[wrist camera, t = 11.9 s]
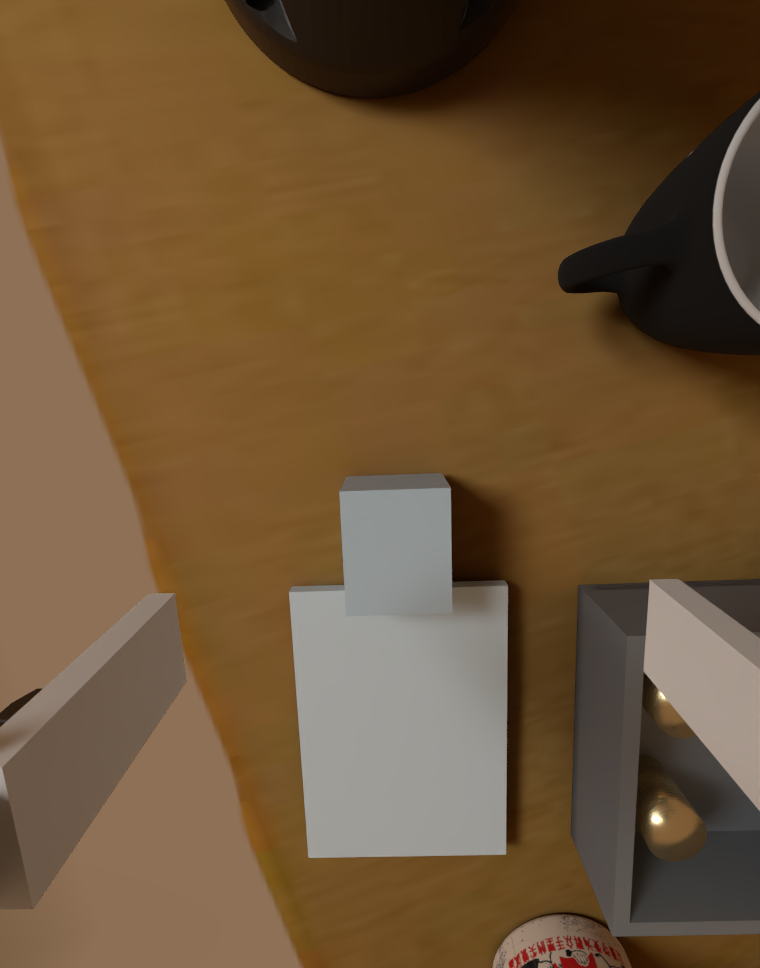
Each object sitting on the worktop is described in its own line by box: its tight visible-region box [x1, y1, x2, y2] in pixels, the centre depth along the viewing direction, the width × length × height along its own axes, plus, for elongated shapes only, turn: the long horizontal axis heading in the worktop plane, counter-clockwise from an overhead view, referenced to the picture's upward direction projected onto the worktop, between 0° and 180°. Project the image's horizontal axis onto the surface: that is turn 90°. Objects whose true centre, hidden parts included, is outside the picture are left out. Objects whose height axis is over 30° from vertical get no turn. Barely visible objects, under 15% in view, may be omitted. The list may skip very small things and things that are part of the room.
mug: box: [558, 92, 760, 355], centre depth 21 cm, size 12×9×10 cm
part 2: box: [635, 754, 707, 862], centre depth 28 cm, size 3×3×4 cm
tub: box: [571, 579, 760, 937], centre depth 27 cm, size 16×12×6 cm
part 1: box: [642, 672, 697, 738], centre depth 27 cm, size 3×3×4 cm
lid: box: [289, 473, 508, 858], centre depth 28 cm, size 23×12×5 cm, turn 2°
